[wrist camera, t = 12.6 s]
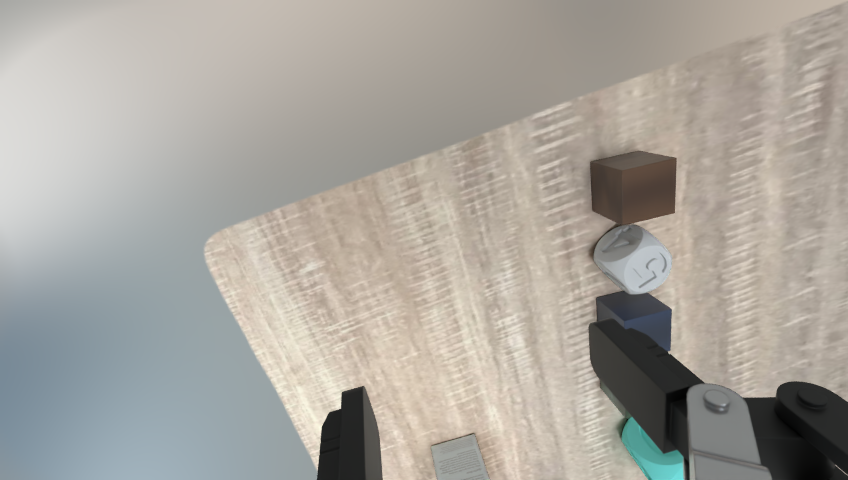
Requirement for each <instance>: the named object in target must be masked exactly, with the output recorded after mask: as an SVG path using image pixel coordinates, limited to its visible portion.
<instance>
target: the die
mask: <svg viewBox="0 0 848 480" xmlns="http://www.w3.org/2000/svg"><path fill="white" fill-rule="evenodd" d="M594 262H595V263H596V265H597V266H598V267H599V268H600V269H601V270H602V271H603V272H604V273H605V274H606V275H607V276H608V277H609V278H610V279H611V280H612V281H613V282H614V283H615V284H616V285H617V286H619V287H620V288H621V289H622V290H624V291H625V292H626V293H628V294H643V293H647V292H649V291H652V290H654V289H655V288H657V287H658V286H660V285H661V284H662V283H663V282H664V281H665V280H666V278H667V277H668V275H669V273H670V270H671V266H672V256H671V254H670V252H669V251H668V249H667V248H666V247H665V246H664V245H663V244H662V243H661V242H660V241H659V240H658V239H657V238H656V237H654V236H653V235H652V234H651V233H649V232H648V231H647V230H645V229H643V228H642V227H640V226H638V225H623V226H620V227H617V228H615V229H613V230H611V231H609V232H608V233H607V234H605V235H604V236H603V237H602V238H601V239H600V241H599V242H598V244H597V246H596V248H595V251H594Z"/></svg>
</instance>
